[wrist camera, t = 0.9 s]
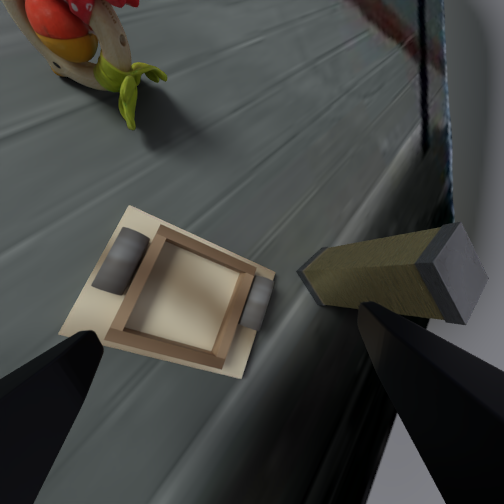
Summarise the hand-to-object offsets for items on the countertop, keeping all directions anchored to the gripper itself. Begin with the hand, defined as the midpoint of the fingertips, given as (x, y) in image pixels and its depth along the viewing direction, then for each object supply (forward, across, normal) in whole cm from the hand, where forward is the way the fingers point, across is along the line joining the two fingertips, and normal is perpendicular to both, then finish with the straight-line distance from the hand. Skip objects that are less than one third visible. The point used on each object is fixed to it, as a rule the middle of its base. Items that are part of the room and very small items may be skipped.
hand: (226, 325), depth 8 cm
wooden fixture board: (+10, +5, +6) cm, 13 cm away
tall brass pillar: (+16, -8, +9) cm, 20 cm away
